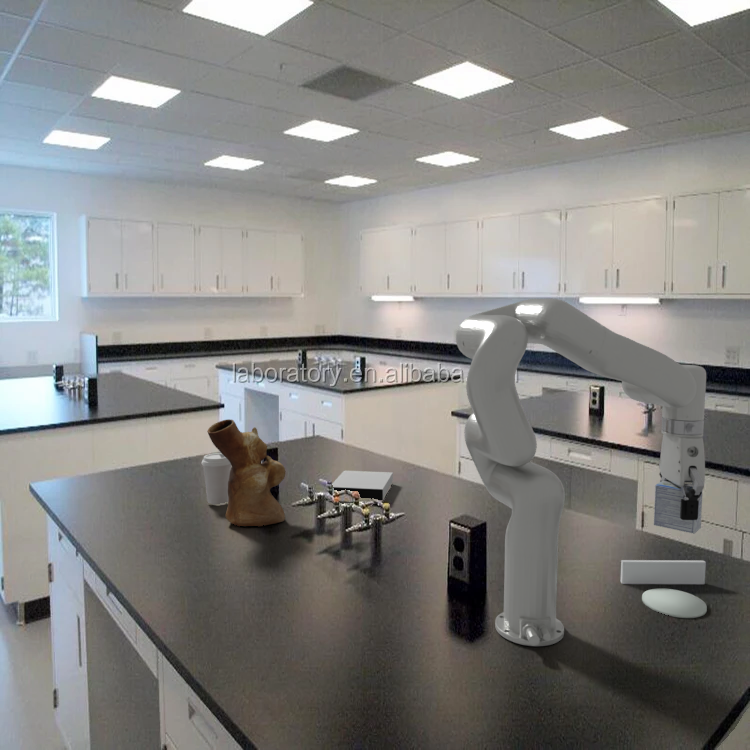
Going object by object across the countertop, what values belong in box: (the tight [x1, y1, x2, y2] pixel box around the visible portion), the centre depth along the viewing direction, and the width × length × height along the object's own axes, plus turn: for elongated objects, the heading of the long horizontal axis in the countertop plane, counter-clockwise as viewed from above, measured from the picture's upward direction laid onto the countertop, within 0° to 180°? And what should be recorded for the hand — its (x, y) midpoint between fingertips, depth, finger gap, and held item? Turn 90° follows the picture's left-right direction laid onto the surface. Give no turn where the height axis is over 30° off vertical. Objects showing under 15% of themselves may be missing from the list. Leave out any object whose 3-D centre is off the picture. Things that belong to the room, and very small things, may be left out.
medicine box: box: [653, 481, 704, 535], centre depth 128 cm, size 8×4×9 cm, turn 48°
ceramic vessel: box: [207, 419, 286, 527], centre depth 179 cm, size 16×22×30 cm
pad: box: [641, 587, 708, 619], centre depth 130 cm, size 12×12×1 cm
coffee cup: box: [200, 452, 232, 504], centre depth 198 cm, size 10×10×15 cm
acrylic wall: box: [620, 559, 707, 585], centre depth 140 cm, size 1×18×5 cm, turn 89°
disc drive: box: [331, 470, 394, 500], centre depth 210 cm, size 18×22×5 cm
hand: (678, 511), depth 128 cm, fingers closed on medicine box, 8 cm apart
